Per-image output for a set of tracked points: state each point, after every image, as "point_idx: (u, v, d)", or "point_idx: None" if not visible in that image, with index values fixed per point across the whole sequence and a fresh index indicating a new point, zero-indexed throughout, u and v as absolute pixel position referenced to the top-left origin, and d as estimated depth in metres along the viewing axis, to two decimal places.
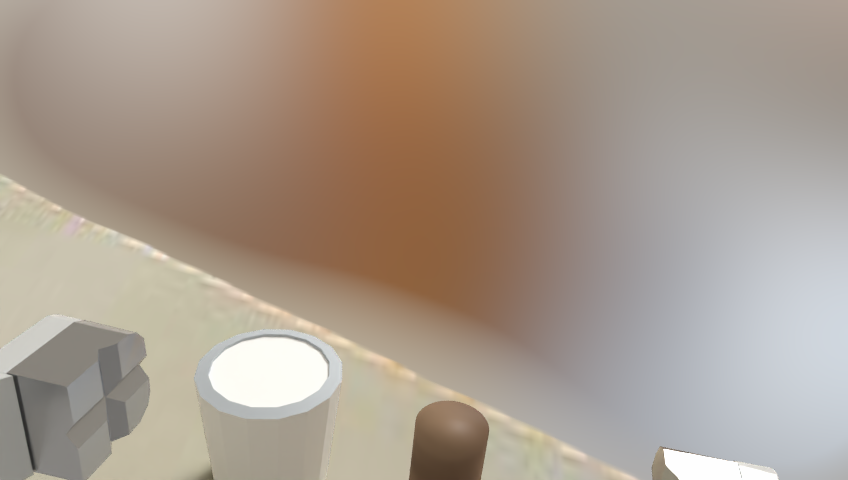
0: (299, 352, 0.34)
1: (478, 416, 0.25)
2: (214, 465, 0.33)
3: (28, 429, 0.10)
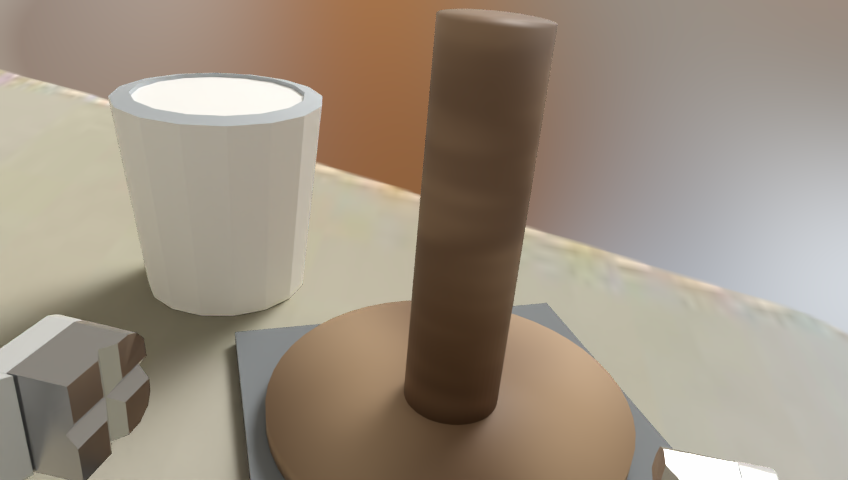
0: (263, 87, 0.25)
1: (536, 18, 0.15)
2: (142, 232, 0.23)
3: (28, 429, 0.10)
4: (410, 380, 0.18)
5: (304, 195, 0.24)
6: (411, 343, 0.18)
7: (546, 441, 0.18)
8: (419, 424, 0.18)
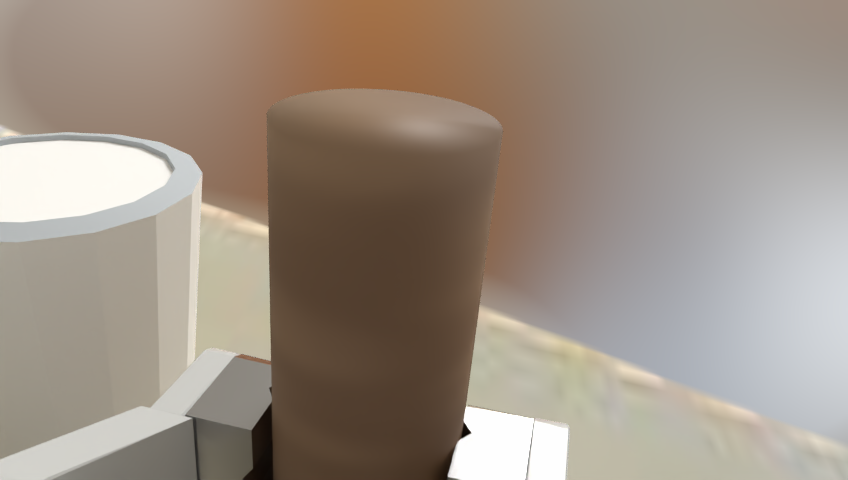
0: (121, 159, 0.17)
1: (468, 111, 0.08)
2: None
3: (201, 472, 0.09)
4: None
5: (172, 316, 0.17)
6: None
7: None
8: None
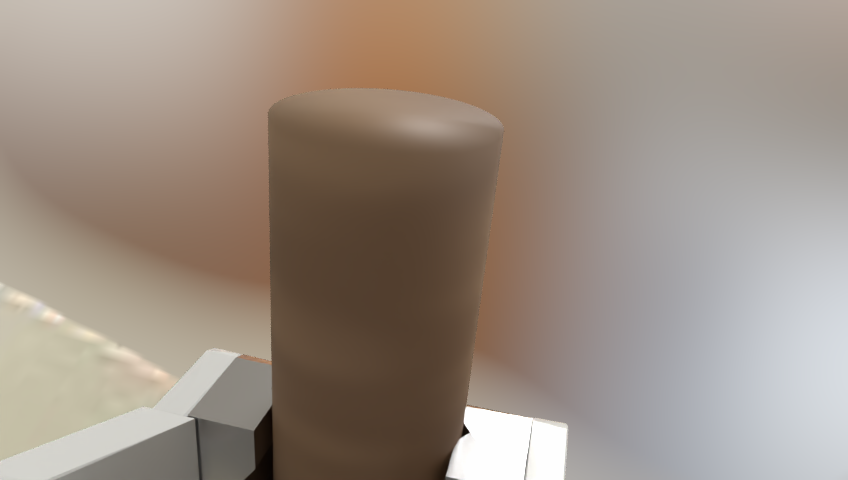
0: None
1: (469, 110, 0.08)
2: None
3: (203, 473, 0.09)
4: None
5: None
6: None
7: None
8: None
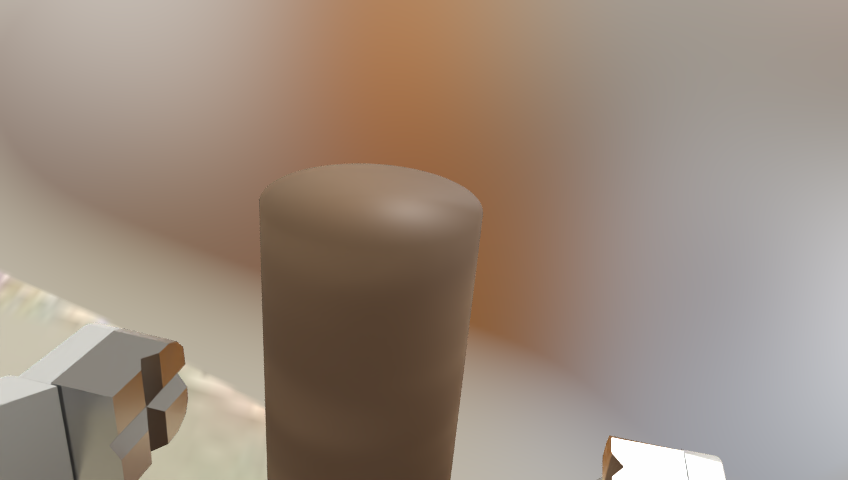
0: None
1: (451, 188, 0.09)
2: None
3: (71, 440, 0.10)
4: None
5: None
6: None
7: None
8: None
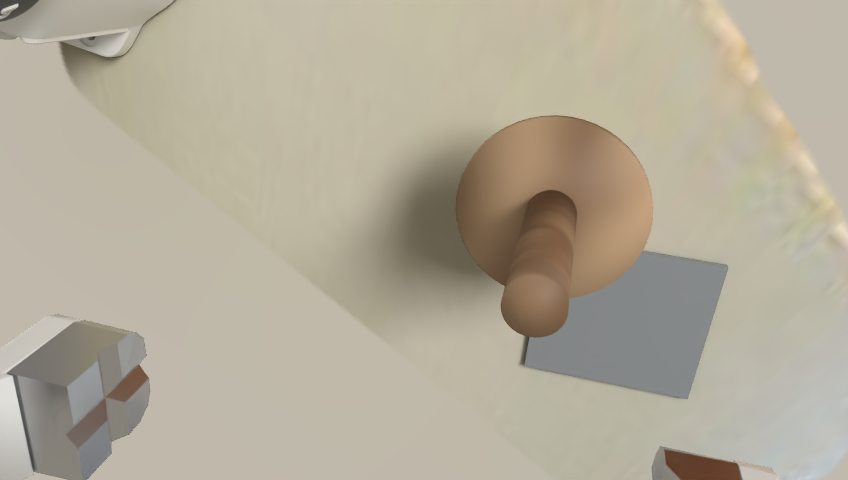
0: None
1: (563, 307, 0.27)
2: None
3: (28, 429, 0.10)
4: None
5: None
6: None
7: (577, 260, 0.36)
8: None
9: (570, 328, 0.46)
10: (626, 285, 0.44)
